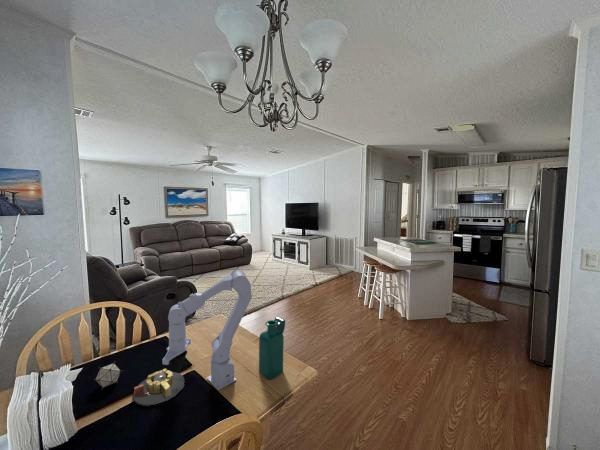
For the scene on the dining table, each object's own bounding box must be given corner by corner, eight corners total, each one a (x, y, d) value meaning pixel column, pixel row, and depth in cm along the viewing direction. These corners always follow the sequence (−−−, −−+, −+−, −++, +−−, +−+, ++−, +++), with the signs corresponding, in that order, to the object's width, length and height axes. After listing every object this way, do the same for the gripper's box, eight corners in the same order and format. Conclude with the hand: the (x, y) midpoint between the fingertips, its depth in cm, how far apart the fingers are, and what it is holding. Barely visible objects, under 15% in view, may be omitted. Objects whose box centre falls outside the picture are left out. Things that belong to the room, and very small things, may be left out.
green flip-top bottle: (269, 381, 104) (270, 328, 102) (256, 371, 109) (257, 321, 108) (287, 370, 111) (288, 321, 109) (274, 362, 116) (275, 314, 115)
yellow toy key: (180, 390, 95) (180, 380, 95) (155, 403, 89) (154, 392, 89) (167, 374, 104) (167, 365, 104) (143, 385, 98) (143, 375, 97)
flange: (192, 388, 98) (191, 376, 98) (141, 414, 86) (141, 400, 86) (174, 368, 110) (174, 357, 110) (127, 388, 98) (127, 376, 97)
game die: (111, 390, 102) (123, 362, 107) (117, 392, 96) (130, 362, 102) (85, 388, 97) (99, 358, 102) (90, 390, 91) (105, 359, 97)
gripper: (179, 327, 105) (179, 359, 106) (154, 346, 91) (154, 383, 92) (195, 328, 104) (195, 361, 105) (172, 348, 90) (173, 385, 91)
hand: (177, 371), depth 98 cm, fingers closed
